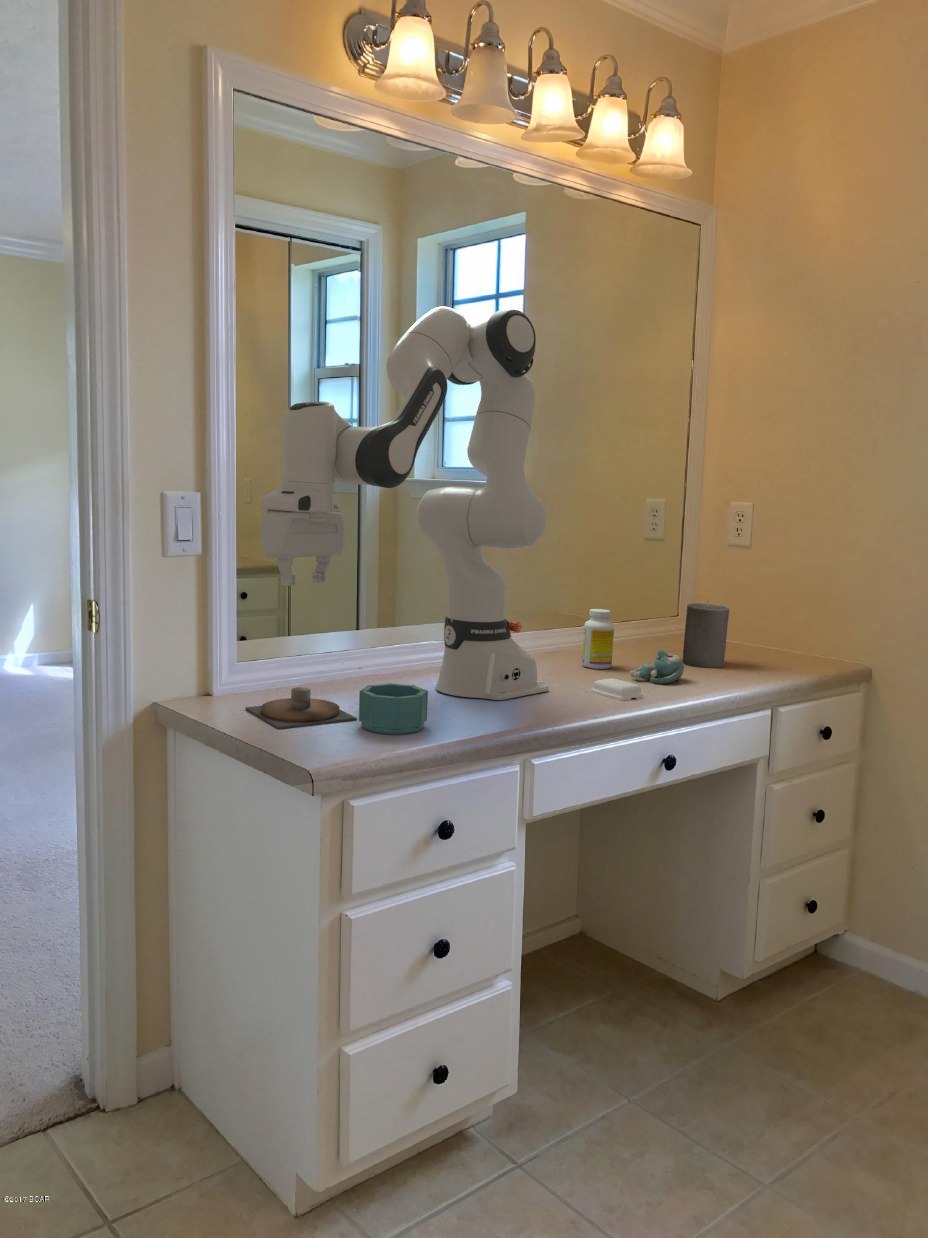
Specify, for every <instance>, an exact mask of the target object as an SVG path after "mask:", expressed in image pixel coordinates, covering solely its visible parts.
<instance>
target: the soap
mask: <svg viewBox="0 0 928 1238" xmlns="http://www.w3.org/2000/svg"><path fill="white" fill-rule="evenodd" d="M592 687H593V688H591V689H590V693H593V694H594V695H595V694H596V695H598V696H601V697H605V698H609V699H612V700H617V701H619V702H620V701H624V702H625V701H631V700H632V699H636V700H639V699H643V697H644V695H643V693H642V688H641V686H640V685H639V684H635V683H633V682H629V681H625V680H621V679H616V678H613V677H612V678H605V679H599V680H595V681H594V682H593V686H592Z"/></svg>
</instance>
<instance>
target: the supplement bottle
mask: <svg viewBox="0 0 928 1238" xmlns="http://www.w3.org/2000/svg"><path fill="white" fill-rule="evenodd" d="M588 615H589V620H587V621H585V622H584V625H583V638H582V639H583V640H582V642H583V643H582V653H581V654H582V657H581V658H582V660H581V663H582V666H583V667H584V668H588V669H592V670H593V669H594V670H607V669H608V670H609V669H610V668H612V664H613V648H614V634H615V633H614V632H615V626H614V624H613V622H611V621H610V617H611V610H609V609H602V608H591V609H589V613H588Z"/></svg>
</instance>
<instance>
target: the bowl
mask: <svg viewBox="0 0 928 1238" xmlns="http://www.w3.org/2000/svg"><path fill="white" fill-rule="evenodd" d="M428 695H429V691H428V689H424V688H422V687H419V686H416V685H412V684H403V683H402V684H400V683H392V682H391V683H388V682H387V683H381V684H380V683H378V684H370V685H369V684H368V685H366V686H365V687H364V688H361V690H359V700H358V701H359V702H358V705H359V706H358V721H359V722H361V728H362V729H364V730H365V731H366V732H370V733H374V734H381V735H387V736H388V735H391V736H392V735H393V736H396V735H397V736H401V735H409V734H410V735H411V734H416V733H419V732H421V731H423V730H424V728H425V723H426V721H427V720H428V704H429V703H428V702H429V701H428V700H429V697H428Z"/></svg>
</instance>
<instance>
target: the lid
mask: <svg viewBox="0 0 928 1238" xmlns="http://www.w3.org/2000/svg"><path fill="white" fill-rule="evenodd" d="M290 692H291V693H290V694H291V695H290V698H289V697H288V698H279V699H274V700H271V701H270V700H269V701H267V702H264V703H263V704H262V705H260V706H261V714H262V715H263V716H264V717H266V718H269V719H273V720H278V721H285V722H317V721H324V720H328V719H332V718H335V717H336V716H338V715H339V709H340V706H339V705H338V704H337V703H335V702H334V701H329V700H326V699H318V698H312V697H311V693H312V691H311V689H310V688H308V687H303V686H302V687H301V686H300V687H299V686H298V687H292V688H291V691H290Z"/></svg>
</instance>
